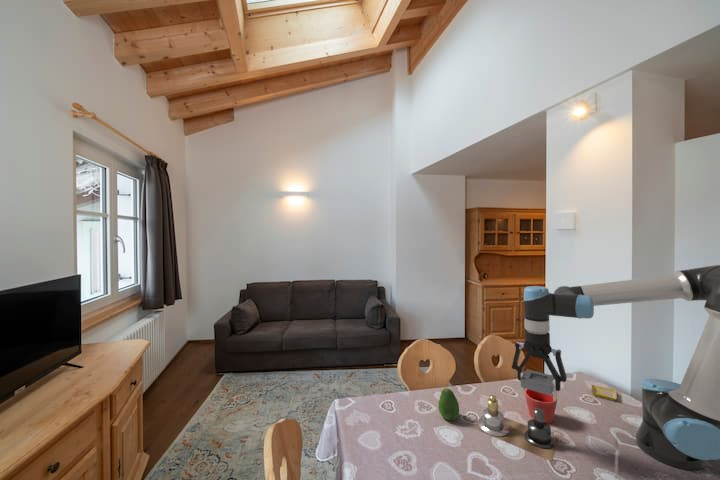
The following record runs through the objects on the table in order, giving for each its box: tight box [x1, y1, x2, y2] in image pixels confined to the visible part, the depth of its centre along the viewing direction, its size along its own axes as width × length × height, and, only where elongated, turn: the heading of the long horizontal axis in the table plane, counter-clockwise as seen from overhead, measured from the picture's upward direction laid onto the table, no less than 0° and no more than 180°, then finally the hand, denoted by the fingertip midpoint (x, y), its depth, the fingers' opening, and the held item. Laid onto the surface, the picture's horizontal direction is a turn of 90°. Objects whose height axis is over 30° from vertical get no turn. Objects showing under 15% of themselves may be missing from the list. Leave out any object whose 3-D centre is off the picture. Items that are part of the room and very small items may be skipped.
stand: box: [525, 408, 555, 449], centre depth 102 cm, size 9×9×10 cm
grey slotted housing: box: [520, 368, 554, 396], centre depth 102 cm, size 9×9×3 cm
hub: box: [477, 394, 510, 438], centre depth 109 cm, size 11×11×12 cm
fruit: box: [438, 388, 460, 421], centre depth 116 cm, size 8×8×12 cm
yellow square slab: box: [590, 384, 618, 402], centre depth 129 cm, size 9×9×2 cm
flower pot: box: [524, 388, 558, 424], centre depth 115 cm, size 11×11×10 cm
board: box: [473, 415, 559, 462], centre depth 106 cm, size 25×14×1 cm, turn 48°
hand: (538, 394), depth 102 cm, fingers closed on grey slotted housing, 9 cm apart
